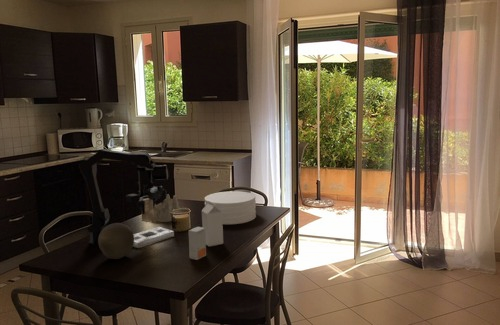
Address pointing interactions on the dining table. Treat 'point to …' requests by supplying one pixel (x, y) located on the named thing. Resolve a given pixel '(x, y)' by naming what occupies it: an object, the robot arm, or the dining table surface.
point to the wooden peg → (148, 210)
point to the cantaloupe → (116, 240)
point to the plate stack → (234, 206)
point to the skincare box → (197, 243)
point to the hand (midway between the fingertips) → (147, 213)
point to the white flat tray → (151, 236)
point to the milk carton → (212, 224)
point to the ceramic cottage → (165, 209)
